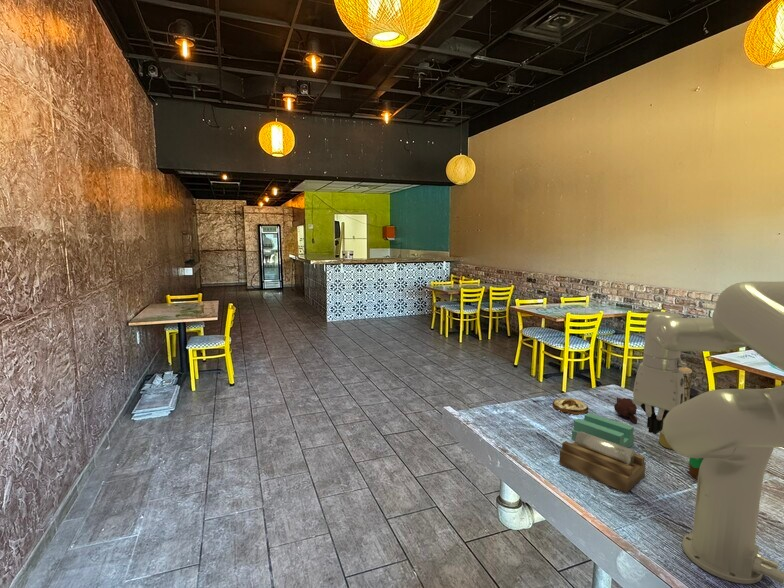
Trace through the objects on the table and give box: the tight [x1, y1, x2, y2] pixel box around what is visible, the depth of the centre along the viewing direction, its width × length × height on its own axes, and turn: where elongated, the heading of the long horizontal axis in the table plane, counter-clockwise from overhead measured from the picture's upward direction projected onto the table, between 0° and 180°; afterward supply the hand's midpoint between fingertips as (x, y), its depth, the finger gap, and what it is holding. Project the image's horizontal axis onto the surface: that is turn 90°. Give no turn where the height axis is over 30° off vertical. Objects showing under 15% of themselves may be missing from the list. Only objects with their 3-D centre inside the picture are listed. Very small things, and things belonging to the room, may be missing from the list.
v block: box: [571, 412, 635, 448], centre depth 130 cm, size 14×12×6 cm
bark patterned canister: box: [658, 366, 693, 451], centre depth 126 cm, size 7×7×25 cm
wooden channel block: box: [558, 434, 647, 494], centre depth 114 cm, size 18×12×6 cm, turn 39°
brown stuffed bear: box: [613, 397, 638, 424], centre depth 150 cm, size 7×7×15 cm
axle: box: [573, 431, 635, 466], centre depth 113 cm, size 14×5×5 cm, turn 39°
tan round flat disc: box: [552, 397, 589, 416], centre depth 157 cm, size 15×15×4 cm
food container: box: [688, 457, 704, 482], centre depth 111 cm, size 12×6×10 cm, turn 141°
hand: (654, 431), depth 104 cm, fingers closed
